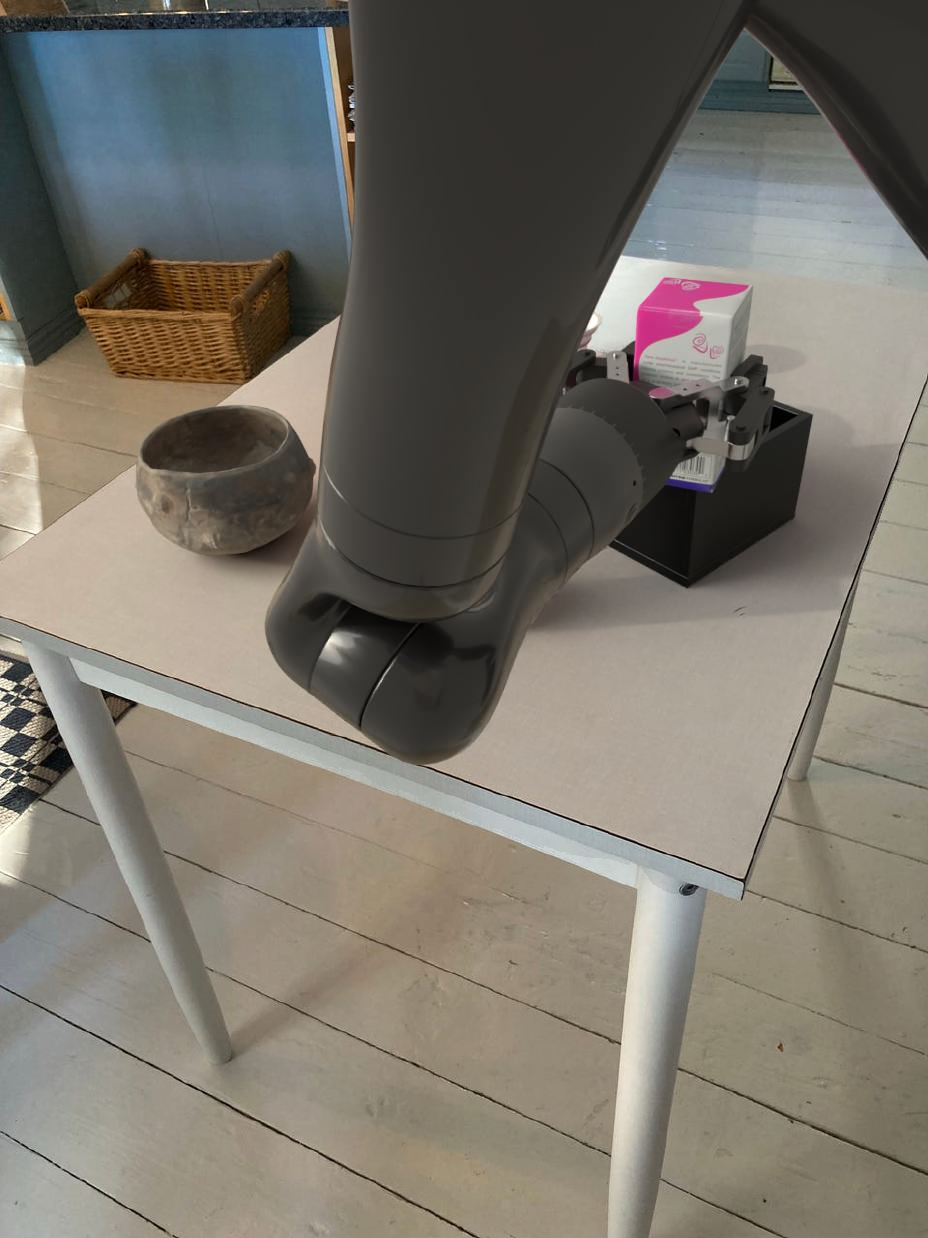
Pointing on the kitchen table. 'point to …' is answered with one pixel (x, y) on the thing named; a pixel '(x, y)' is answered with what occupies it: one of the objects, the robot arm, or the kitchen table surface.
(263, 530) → the bowl
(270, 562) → the kitchen table surface
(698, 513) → the black storage bin
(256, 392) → the kitchen table surface
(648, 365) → the supplement box
